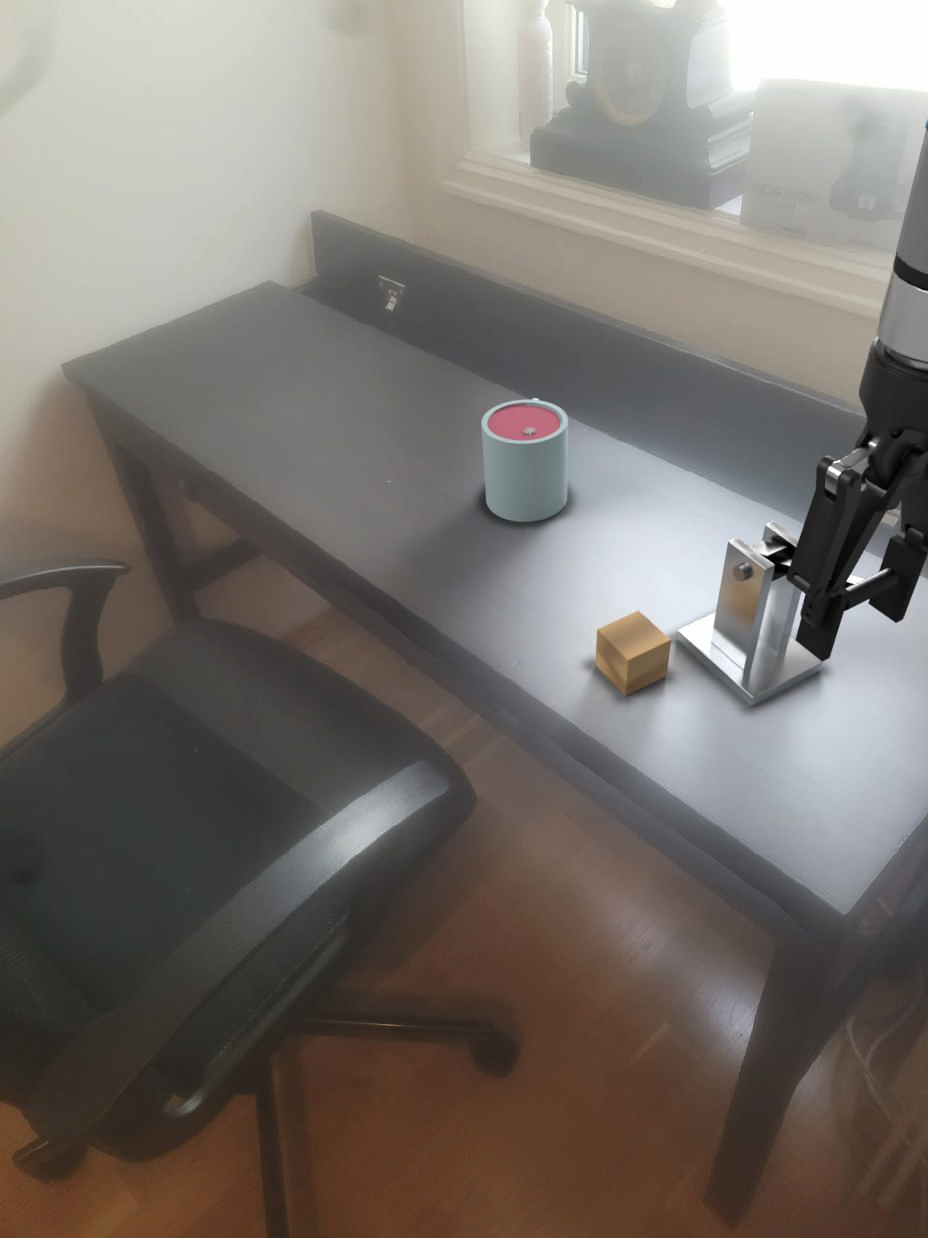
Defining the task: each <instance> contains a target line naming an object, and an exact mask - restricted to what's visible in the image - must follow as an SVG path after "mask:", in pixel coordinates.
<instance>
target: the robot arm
mask: <svg viewBox="0 0 928 1238" xmlns="http://www.w3.org/2000/svg"><path fill="white" fill-rule="evenodd" d="M924 129H925V133H924V136H923V141H922V144H921V149H920V153H919V156H918V161H917V164H916V169H915V172H914V176H913V181H912V184H911V189H910V192H909V197H908V201H907V205H906V208H905V212H904V215H903V216H904V217H903V220H902V224H901V229H900V232H899V238H898V241H897V245H896V252H895V255H894V260H893V262H892V263H893V264H892V270H891V273H890V276H889V279H888V283H887V287H886V289H885V294H884V298H883V301H882V305H881V308H880V312H879V316H878V319H877V322H876V325H875V334H876V336H877V337H875V339H873V340H872V342H871V344H870V346H869V350H868V353H867V358H866V361H865V363H864V368H863V372H862V376H861V380H860V384H859V389H858V398H859V401H860V403H861V405H862V407H863V410H864V412H865V417H866V422H865V425H864V427H863V428H862V430H861V432H860V434H859V435H858V437H857V439H856V441H855V443H854V447H853V451H852V452H851V453H849V454H847V455H846V456H844V457H843V458H841V459H839V460H838V459H836V458H834V457H833V456H830V455H826V456H824V457H822V458H821V459H820V460H819V462H818V464H817V466H816V471H815V472H816V474H815V490H814V493H813V496H812V499H811V501H810V505H809V509H808V511H807V514H806V517H805V520H804V523H803V526H802V529H801V531H800V535H799V541H798V543H797V546H796V549H795V552H794V555H793V558H792V561H791V564H790V567H789V570H788V573H787V577H786V579H787V581H789V582H790V583H791V584H793V585H794V586H796V587H797V588H798V589H800V590H801V591H802V592H801V593H804V596H803V597H804V598H803V602H802V605H801V608H800V613H799V614H800V621H799V624H798V628H797V632H796V635H795V638H794V639H795V641H797V642H798V643H799V644H800V645H802V646H803V647H804V648H805V649H807V650H808V651H809V652H810V653H812V654H813V655H814V656H815V657H817V658H818V659H819V660H820V661H822V663H823V662H825V661H827V660H828V659H830V658H831V655H832V652H833V649H834V647H835V646H834V645H835V643H836V639H837V637H838V633H839V629H840V626H841V622H842V619H843V617H844V614H845V611H844V610H845V607H846V604H847V601H848V597H849V594H850V591H848V590H847V589H845V588H844V585H845V584H846V582H847V580H848V578H849V577H850V575H852V573H853V571H854V570H855V568H856V566H857V565H858V563H859V560H860V558H861V557H862V556H863V553H864V552H865V550H866V549H867V547H868V546H869V543H870V541H871V540H872V538H873V536H874V534H875V532H876V530H877V529H878V527H879V525H880V523H881V522H882V520H883V518H884V516H885V515H886V513H887V512H888V511H893V510H896V509H897V508H898V506H899V505H900V532H901V533H903V534H904V537H903V536H901V535H899V534H897V533H896V534H895V535H893V536H891V537H890V538H889V540H888V543H887V546H886V548H885V552H884V554H883V558H882V561H881V564H880V567H879V569H878V572H880V571H882V570H884V569H886V568H891V569H893V570H895V571H896V572H897V574H898V576H899V583H898V584H897V585H896V586H894V587H892V588H890V589H888V590H886V591H884V592H882V593H880V594H879V595H877V596H875V597H873V598H871V599H869V600H868V603H867V604H868V605H870V606H871V607H872V608H874V609H875V610H877V611H878V612H879V613H881V614H882V615H884V616H885V617H887V618H888V619H889V620H891V621H892V622H893V623H895V624H897V623H900V622H901V621H903V620H904V618H905V616H906V613H907V610H908V607H909V606H910V602H911V599H912V597H913V594H914V592H915V589H916V586H917V585H918V582H919V579H920V576H921V573H922V571H923V568H924V565H925V562H926V560H927V557H928V119H927V120H926V121H925V126H924ZM867 481H868V482H869V483H871V484H872V485H871V484H869V483H868V482H867ZM873 485H874V486H876V487H874V486H873ZM878 488H879V489H881V490H883V491H885V492H883V491H881V490H879V489H878Z"/></svg>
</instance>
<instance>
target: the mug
mask: <svg viewBox="0 0 928 1238" xmlns="http://www.w3.org/2000/svg"><path fill="white" fill-rule="evenodd" d="M480 424H481V438H482V439H481V440H482V453H483V454H482V455H483V470H484V487H485V488H484V489H485V502H486V505H487V507H488V509H489V510H490V512H492V513H493V514H495V516H498V517H499V518H502V519H503V520H504V519H505V520H508V521H512V522H518V523H519V522H520V523H531V522H537V521H543V520H547V519H549V518H551V517H553V516H555V515H557V514H558V513H560V512H561V511H562V510H563V509H564V507H565V506H566V504H567V502H568V458H569V457H568V456H569V455H568V454H569V452H568V450H569V417H568V414H567V413H566V411H565V410H564V409H562V408H561V407H560V406H558V405H556V404H554V403H551V402H548V401H544V400H540V399H539V398H538V397H533V398H532V399H517V400H511V401H506V402H503V403H500V404H498V405H495V406H493V407H491V408H490V409H489V410H487V411H486V413H484V415H483V417H482V418H481V423H480Z"/></svg>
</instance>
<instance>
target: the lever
mask: <svg viewBox="0 0 928 1238" xmlns="http://www.w3.org/2000/svg"><path fill="white" fill-rule="evenodd" d="M749 546H750V547H751V548H753V549H754V550H755V551H757V552H758V553H759V554H761V555H762V556H763V557H765V558H766V559H768V560H769V561H770V562H772V563H773V564H774V565H775V568H774V573H773V577H772V582H773V581H775V580H777V579H779V578H781V577H783V576H787V573H788V570H789V567H790V564H791V561H792V559H789V557H788V547H786V546H782V545H778V544H775V543H771V542H767V541H762V540H760V541H758V542H757V543H754V544H752V545H749ZM898 583H899V576H898V574H897V572H896V571H895V570H893V569H891V568H886V569H884V570H882V571H880V572H879V571H878V572H876V573H874V574H871V575H870V576H868V577H866V578H863V577H859V576H855V575H852V574H851V575H850V577H849V578H848V580H847V582H846V584H845V585H844V588H845V589H847V590H848V591H850V594H849V597H848V601H847V604H846V607H845V610H844V612H847V611H849V610H851V609H853V608H854V607H857V606H858V605H860V604H862V603H864V602H866V601H869V599H871V598H873V597H875V596H877V595H879V594H880V593H882V592H884V591H886V590H888V589H890V588H892V587H894V586H896V585H897V584H898Z"/></svg>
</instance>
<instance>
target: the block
mask: <svg viewBox="0 0 928 1238" xmlns="http://www.w3.org/2000/svg"><path fill="white" fill-rule="evenodd" d="M595 642H596V645H595V662H594V663H595V667H597V668H598V670H599V671H600V672H601V673H602V674H603V675H604V676H605V677H606V678H607V680H609V682H611V683H612V684H613V685H614V687H616V689H618V691H619V692H620V693H622V695H623V696H624V697H627V696H629V695H632V694H633V693H635V692H637V691H639V690H641V689H643V688H645V687H647V686H649V685H652V684H653V683H655V682H658V681H660V680H662V679H663V678H665V677H667V675H668V669H669V660H670V652H671V646H672V639H671V638H670V637H669V636H668V635H667V634H665V632H663V631H662V630H661V629H660V628H659V627H658V626H657V625H656V624H655V623H654V622H652V621H651V620H650V619H649V618H648V617H647V616H646V615H645V614H644V613H643V612H642V611H640V610H636V611H634V612H632V613H630V614H628V615H626V616H623V617H621V618H619V619H617V620H615V621H612V622H610V623H608V624H606V625H603V626H601V627H599V628H597V629H596V641H595Z"/></svg>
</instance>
